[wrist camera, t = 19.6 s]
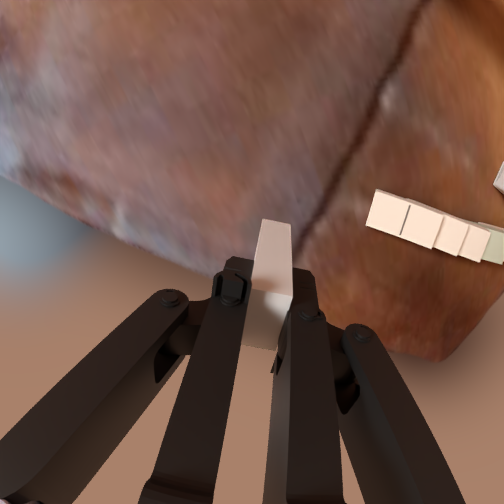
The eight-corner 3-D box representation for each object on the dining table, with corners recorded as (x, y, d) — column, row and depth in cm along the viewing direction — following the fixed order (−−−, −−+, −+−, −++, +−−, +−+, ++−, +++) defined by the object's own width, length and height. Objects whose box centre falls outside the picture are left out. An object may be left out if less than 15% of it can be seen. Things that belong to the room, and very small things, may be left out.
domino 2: (407, 200, 37) (469, 224, 34) (406, 197, 38) (466, 221, 35) (396, 233, 39) (456, 256, 36) (396, 229, 41) (454, 252, 37)
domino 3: (434, 211, 37) (490, 232, 34) (432, 208, 38) (488, 229, 35) (424, 243, 39) (479, 262, 36) (423, 239, 41) (477, 258, 37)
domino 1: (375, 190, 37) (443, 215, 34) (376, 188, 38) (441, 212, 35) (365, 225, 39) (431, 249, 36) (366, 221, 41) (429, 244, 38)
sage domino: (458, 220, 37) (511, 235, 33) (456, 217, 38) (507, 231, 35) (450, 251, 39) (502, 264, 35) (449, 247, 41) (499, 260, 37)
